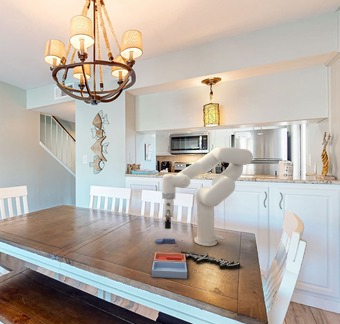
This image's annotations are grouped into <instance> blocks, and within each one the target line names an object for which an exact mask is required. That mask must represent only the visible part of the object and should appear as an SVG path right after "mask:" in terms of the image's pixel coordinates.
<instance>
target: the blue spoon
mask: <svg viewBox="0 0 340 324" xmlns="http://www.w3.org/2000/svg"><path fill="white" fill-rule="evenodd" d="M155 244H158V245H163V244H176V238H171V237H170V238H169V237H167V238H166V237H163V238H157V239H155Z"/></svg>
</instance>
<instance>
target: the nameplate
mask: <svg viewBox="0 0 340 324" xmlns="http://www.w3.org/2000/svg"><path fill="white" fill-rule="evenodd" d="M180 254H185V259H186V261H188V260H191V261H193V262H195V263H196V265H199V264H202V263H208V264H211V265H215V266H219V269H220V270H224V269H225V270H235V269H240V267H241V262H240V261H237V262H236V263H235V260H230V261H229V260H225V259H224V258H220V259H219V258H216V257H214V256H209V253H208V252H206V253H205V254H204V253H197V252H191V251H186V250H181V251H180Z"/></svg>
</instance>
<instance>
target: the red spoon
mask: <svg viewBox="0 0 340 324" xmlns="http://www.w3.org/2000/svg"><path fill="white" fill-rule="evenodd" d="M158 260H175V261H182V257H179V256H166V257H163V256H161V257H158Z"/></svg>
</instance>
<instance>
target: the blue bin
mask: <svg viewBox="0 0 340 324" xmlns="http://www.w3.org/2000/svg"><path fill="white" fill-rule="evenodd" d="M151 277H152V278H167V279H185V280H187V279H188V268H187V261H186V262H166V261H154V260H153V262H152V267H151Z"/></svg>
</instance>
